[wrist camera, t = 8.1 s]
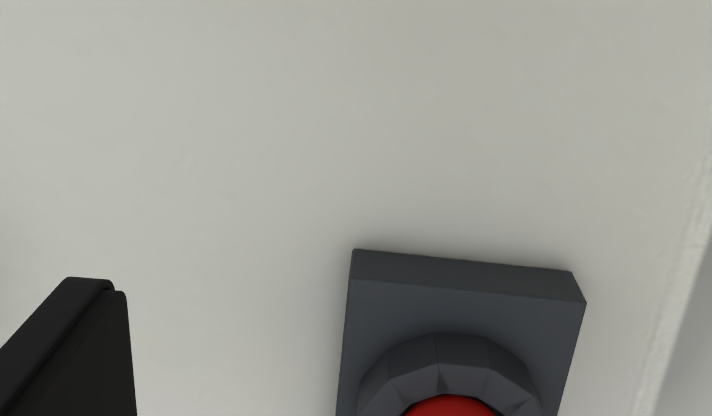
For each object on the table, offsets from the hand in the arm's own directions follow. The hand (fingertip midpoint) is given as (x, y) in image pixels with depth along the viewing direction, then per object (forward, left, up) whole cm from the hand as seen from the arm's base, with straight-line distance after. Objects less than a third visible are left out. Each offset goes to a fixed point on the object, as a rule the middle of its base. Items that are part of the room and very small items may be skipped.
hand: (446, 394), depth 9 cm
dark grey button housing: (+6, +8, -14) cm, 17 cm away
